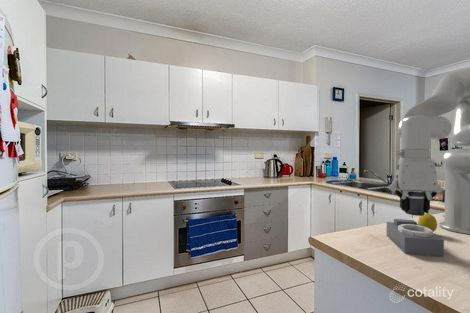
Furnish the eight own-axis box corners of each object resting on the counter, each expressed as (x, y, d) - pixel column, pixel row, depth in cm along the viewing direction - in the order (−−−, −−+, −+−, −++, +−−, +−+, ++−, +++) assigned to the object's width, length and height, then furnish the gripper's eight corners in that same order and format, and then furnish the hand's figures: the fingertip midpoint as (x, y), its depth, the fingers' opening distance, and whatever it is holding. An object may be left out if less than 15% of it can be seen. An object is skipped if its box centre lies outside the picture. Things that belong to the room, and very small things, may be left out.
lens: (402, 211, 80) (402, 190, 80) (419, 212, 79) (420, 191, 79) (408, 215, 75) (409, 193, 75) (427, 216, 74) (428, 193, 74)
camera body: (386, 235, 88) (386, 217, 88) (418, 237, 86) (418, 219, 86) (404, 253, 73) (404, 232, 73) (443, 256, 70) (444, 235, 70)
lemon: (414, 231, 93) (415, 210, 92) (431, 231, 91) (431, 211, 91) (423, 236, 87) (423, 214, 87) (440, 237, 86) (440, 215, 86)
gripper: (389, 155, 75) (388, 212, 76) (454, 155, 71) (453, 216, 71) (381, 154, 82) (381, 207, 83) (440, 154, 78) (439, 210, 78)
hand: (414, 210), depth 77 cm, fingers closed on lens, 5 cm apart
